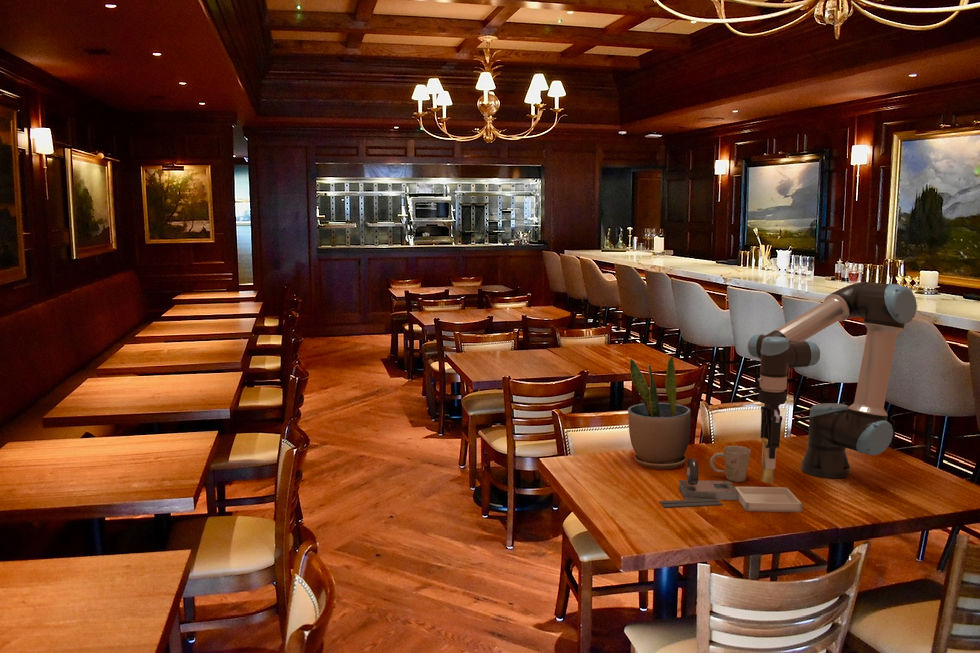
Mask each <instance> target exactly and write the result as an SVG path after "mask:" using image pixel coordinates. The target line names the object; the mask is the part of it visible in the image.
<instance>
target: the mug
mask: <svg viewBox="0 0 980 653" xmlns="http://www.w3.org/2000/svg"><path fill="white" fill-rule="evenodd" d="M719 457H721V458H724V466H725V469H718V468H717V467H716V466H715V463H714V462H715V460H716V459H717V458H719ZM750 458H751V449H750V448H748V447H746V446H740V445H728V446H727V445H726V446H725V447H723V452H716V453H714V454H713V455H712V456H711V457H710V459H709V465H710V467H711V469H712V470H713V471H714V472H716V473H720V474H721V473H723V474H725V477H726V479H727V481H731V482H736V483H740V482H745V481H746V479H747V473H748V468H749V463H750Z"/></svg>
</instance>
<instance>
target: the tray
mask: <svg viewBox="0 0 980 653" xmlns="http://www.w3.org/2000/svg"><path fill="white" fill-rule="evenodd" d="M735 488H736V489H737V491H738V492H739V494H738V500H737V501H738V502H739V503H740V504H741V506H742V507H743V509H744V510H745V511H746V512H768V513H769V512H776V513H777V512H778V513H779V512H780V513H802V512H803V503H802V502H801V501H800V500H799V499H798V498H797V497H796V495H795V494H794V493H793V492H792V491H791V490H790V488H789V487H786V486H785V487H784V486H783V487H782V486H781V487H780V486H778V487H777V486H735Z"/></svg>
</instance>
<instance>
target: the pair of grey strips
mask: <svg viewBox="0 0 980 653" xmlns="http://www.w3.org/2000/svg"><path fill="white" fill-rule="evenodd" d="M658 503H659V504H660V505H661V506H662V507H663V509H671V508H672V509H673V508H689V507H690V508H691V507H692V508H693V507H694V508H695V507H713V506H716V507H717V506H723V503H722V502H721V501H720V500H718V499H675V500H674V499H672V500H659V501H658Z"/></svg>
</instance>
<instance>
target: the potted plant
mask: <svg viewBox="0 0 980 653" xmlns="http://www.w3.org/2000/svg"><path fill="white" fill-rule="evenodd" d="M629 360H630V361H629V370H630V377H631V382H632V385H633V386H634V387H635V389H636V391H637V392H638V394H639V397H641V399H642V401H643V403H637V404H634V405H631V406H629V407H628V408H627V416H628V418H627V419H628V432H629V433H628V434H629V438H630V440H629V441H630V444H631V446H632V449H633V451H634V454H635V456H634V460H635V461H636V463H637V464H638V465H640V466H642V467H646V468H648V469H655V470H670V469H672V470H673V469H676V468H681V467H682V466H683V465H684V464H685V463H687V458H686V457H687V456H685V454H686V452H687V449H688V447H689V442H690V436H691V417H692V416H691V415H692V414H691V412H692V411H691V409H690V407H687V406H685V405H681V404H678V403H677V378H676V369H675V362H674V355H671V356H670V358H669V359H668V362H667V366H666V373H665V383H664V386H665V387H664V388H665V391H666V396H667V399H668V402H659V395H658V391H657V390H658V389H657V386H656V383H655V379H654V376H653V371H652V366H651V365H650V364H648V375H649V383H650V384H649V386H648V383H647V382H646V378H645V377H644V374H643V372H642V371H641V369H640V368H639V367H638V365H637V364H636V362H635V360H634V359H632V358H630V359H629Z"/></svg>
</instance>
